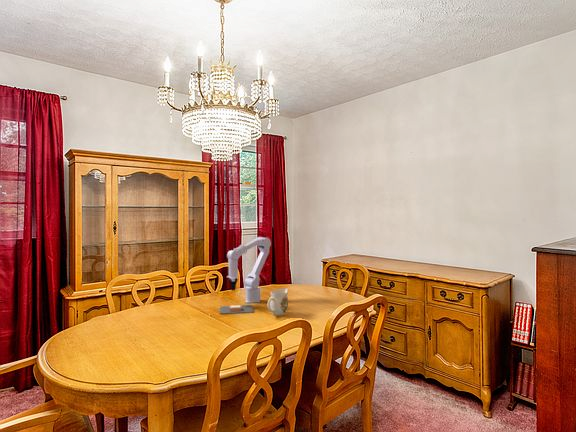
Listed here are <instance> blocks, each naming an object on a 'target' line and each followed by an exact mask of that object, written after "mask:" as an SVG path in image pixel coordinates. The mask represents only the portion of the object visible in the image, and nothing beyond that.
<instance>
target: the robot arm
mask: <svg viewBox="0 0 576 432" xmlns="http://www.w3.org/2000/svg"><path fill="white" fill-rule="evenodd" d="M271 246H272V241H271V239H270V238H269V237H263V236H258V237H256V238H254V239H253V240H251V241H249V242H248V243H246V244H240V245H239V246H238V247H235V248H233V250H232V249H231V250H228V252H227V254H226V258H227V259H228V260H227V261H228V275H227V276H226V278H229V279H228V282H229V285H230V288H231V289H230V290H231V291H232V292H233V291H236V286H237V283H238V278H239V275H238V272H239V271H238V270H239V269H238V266H239V264H238V262H239V258H240V257H241V256H243V255H245V254H246V253H248V250H250V249H252V248H254V247H257V248H258V249H259V251H260V252H259V254H258V257H257V259H256V261H255V263H254V266H253V268H252V270H251V272H250V273H249V274H247V276H246V277H245V278H244V280H243V284H244V286H245V300H244V302H245V303H246V304H254V303H261V288H260V286H259V285H260V281H261V278H260V274H261V271H262V269H263V268H264V265H265V263H266V260H267V258H268V256H269V254H270V247H271Z"/></svg>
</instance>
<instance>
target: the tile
mask: <svg viewBox="0 0 576 432" xmlns="http://www.w3.org/2000/svg"><path fill="white" fill-rule="evenodd" d="M228 306H229V311H241V304H237V305H233V304H232V305H228Z"/></svg>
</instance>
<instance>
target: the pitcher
mask: <svg viewBox="0 0 576 432" xmlns="http://www.w3.org/2000/svg"><path fill="white" fill-rule="evenodd" d="M288 290H289V288H287V287H285V288H279V289H278V288H277V289H273V290H270V292H269V293H270V297H269V299H268V300H267V304H266V306H267V310H268V311H269V312H270V313H272V314H273V315H274V316H277V317H278V316H279V317H280V316H284V315H285V314H286V313H287V310H288V308H289V298H288Z"/></svg>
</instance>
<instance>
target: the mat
mask: <svg viewBox="0 0 576 432" xmlns="http://www.w3.org/2000/svg"><path fill="white" fill-rule="evenodd" d="M240 305H241V304H240ZM229 306H230V305H223V306H222V305H221V306H220V307H219V315H232V314H234V315H235V314H253V313H255V312H254V308H253V304H244V305H241V311H229Z"/></svg>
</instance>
